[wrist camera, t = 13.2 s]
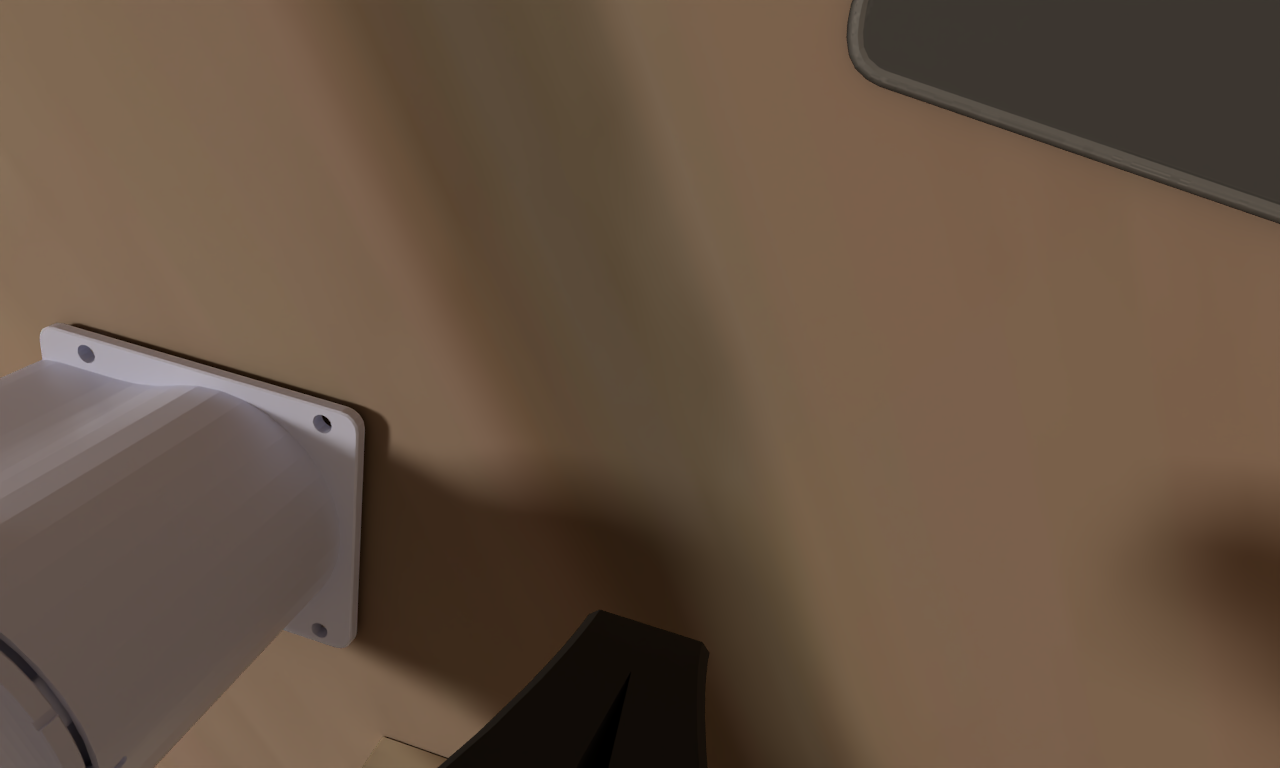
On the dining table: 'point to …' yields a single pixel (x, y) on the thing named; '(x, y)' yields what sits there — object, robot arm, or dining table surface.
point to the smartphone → (1100, 81)
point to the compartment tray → (401, 756)
